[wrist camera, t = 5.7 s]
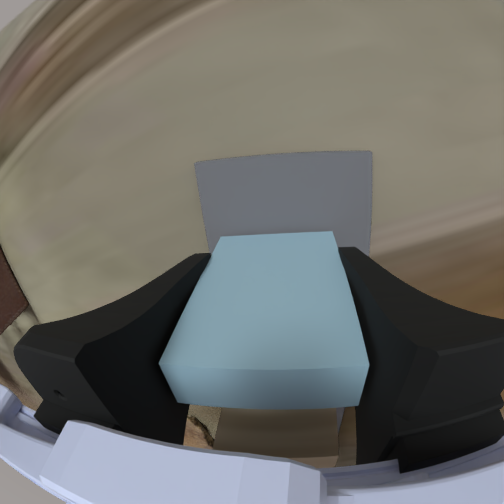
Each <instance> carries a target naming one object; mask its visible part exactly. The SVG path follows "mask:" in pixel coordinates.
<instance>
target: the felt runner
mask: <svg viewBox="0 0 504 504" xmlns="http://www.w3.org/2000/svg"><path fill="white" fill-rule="evenodd" d="M194 165H195V172H196V178H197V184H198V190H199V196H200V202H201V207H202V213H203V219H204V224H205V230H206V235H207V241H208V246H209V251H210V253H211V255H212V253H213V251H214V249H215V247H216V245H217V243H218V241H219V239H220V237H223V236H241V235H260V234H280V233H301V232H324V231H333V235H334V238H335V241H336V244H337V247H356V248H358V249H359V250H360V251H362V252H363V253H364V254H366V255H367V256H368V257H369V248H370V233H371V212H372V152H370V151H321V152H297V153H281V154H267V155H255V156H244V157H234V158H225V159H216V160H208V161H200V162H196V163H194ZM344 409H345V407H338V408H336V414H337V429H338V432H339V429H340V425H341V421H342V417H343V413H344Z"/></svg>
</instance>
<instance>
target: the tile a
mask: <svg viewBox="0 0 504 504" xmlns="http://www.w3.org/2000/svg"><path fill="white" fill-rule="evenodd" d="M212 450H220V451H230V452H242V453H251V454H258V455H265V456H273V457H283V458H288V459H291V460H294V461H297V462H301V463H304V464H307V465H311V466H313V467H315V468H332V467H335V465H336V463H337V460H338V457H339V446H338V429H337V414H336V408H322V409H289V410H275V409H242V408H226V407H222V410H221V414H220V418H219V423H218V427H217V431H216V436H215V440H214V444H213V448H212Z"/></svg>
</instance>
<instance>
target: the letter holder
mask: <svg viewBox="0 0 504 504" xmlns="http://www.w3.org/2000/svg"><path fill="white" fill-rule="evenodd" d="M28 305H29V304H28V302H27V300H26V298H25V296H24V295H23V292H22V291H21V289H20V287H19V285H18V283H17V281H16V279H15V277H14V275H13V273H12V271H11V269H10V267H9V265H8V263H7V260H6V258H5V256H4V254H3V251H2V249H1V247H0V335H1V333H3V332H4V330H6V328H7V327H8V326H9V325H11V324H12V322H13V321H14V320H15V319H16V318H17V317H18V316H19V315H20V314H21V313H22V312H23V311H24V310H25V309H26V308H27V306H28Z"/></svg>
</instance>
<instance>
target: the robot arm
mask: <svg viewBox="0 0 504 504" xmlns="http://www.w3.org/2000/svg"><path fill="white" fill-rule="evenodd" d="M338 252H339V255H340V259H341V262H342V265H343V267H344V270H345V273H346V276H347V280H348V283H349V287H350V290H351V294H352V297H353V301H354V305H355V308H356V312H357V316H358V320H359V324H360V328H361V332H362V336H363V340H364V344H365V348H366V352H367V357H368V361H369V368H368V372H367V376H366V380H365V384H364V387H363V391H362V394H361V398H360V401H359V405H358V406H355V410H356V435H357V458H356V465H353V466H344V467H332V468H315V467H313V466H311V465H307V464H304V463H301V462H297V461H294V460H291V459H288V458H283V457H273V456H265V455H258V454H251V453H242V452H230V451H220V450H211V449H203V448H196V447H190V446H184V445H183V443H184V435H185V429H186V422H187V415H188V410H189V405H190V404H185V403H178V402H177V400H176V398H175V396H174V394H173V392H172V390H171V388H170V386H169V384H168V382H167V380H166V378H165V376H164V374H163V372H162V370H161V367H160V365H159V361H160V359H161V357H162V355H163V353H164V351H165V349H166V346H167V344H168V342H169V340H170V338H171V336H172V334H173V332H174V330H175V328H176V325H177V323H178V321H179V319H180V317H181V315H182V313H183V311H184V309H185V307H186V305H187V303H188V301H189V299H190V297H191V295H192V293H193V291H194V289H195V287H196V285H197V283H198V281H199V279H200V277H201V275H202V273H203V271H204V270H205V268H206V266H207V264H208V262H209V260H210V258H211V253H199V254H194V255H192V256H190V257H188V258H186V259H185V260H183V261H182V262H180V263H179V264H177V265H176V266H174V267H173V268H171V269H170V270H168V271H167V272H165V273H164V274H162V275H161V276H159V277H157V278H156V279H154V280H152V281H151V282H149V283H148V284H146V285H144V286H143V287H141V288H139V289H138V290H136V291H134V292H132V293H130V294H129V295H127V296H125V297H123V298H121V299H119V300H116V301H114V302H112V303H109V304H107V305H105V306H102V307H100V308H97V309H95V310H92V311H89V312H87V313H84V314H81V315H77V316H74V317H70V318H67V319H63V320H59V321H54V322H50V323H45V324H40V325H34V326H33V327H31V328H30V329H29V330H28V331H27V333H26V334H25V335H24V336H23V337H22V338H21V339H20V341H19V342H18V343H17V344H16V345H15V347H14V356H15V360H16V362H17V364H18V366H19V368H20V369H21V371H22V372H23V374H24V375H25V377H26V378H27V379H28V381H29V382H30V383H31V385H32V386H33V387H34V388H35V390H36V391H37V392H38V393H39V395H40V396H41V397H42V398H43V399H44V400H43V401H42V403H41V404H40V406H39V408H38V409H37V411H34V410H32V409H30V408H28V407H26V406H24V405H22V402H21V401H20V400H19V399H18V397H17V396H16V395H15V394H14V393H13V392H12V391H11V390H10V389H8V388H7V387H5V386H3V385H2V384H0V458H1V459H3V460H4V461H5V462H6V463H8V464H9V465H10V466H11V467H13V468H14V469H16V470H17V471H18V472H20V473H21V474H22V475H24V476H25V477H27V478H28V479H29V480H31V481H32V482H34V483H35V484H37V485H39V486H40V487H42V488H43V489H44V490H46V491H48V492H50V493H51V494H53V495H54V496H56V497H58V498H60V499H61V500H63V501H65V502H66V504H504V420H503V417H502V415H501V412H500V410H499V409H501V408H502V407H503V406H504V402H503V399H502V397H501V395H500V393H501V392H502V390H503V389H504V319H499V318H494V317H490V316H485V315H481V314H477V313H473V312H470V311H467V310H464V309H461V308H458V307H455V306H452V305H450V304H447V303H445V302H442V301H440V300H438V299H435V298H433V297H431V296H429V295H427V294H425V293H423V292H421V291H419V290H417V289H415V288H413V287H412V286H410V285H408V284H406V283H405V282H403V281H402V280H400V279H399V278H397V277H395V276H394V275H392V274H391V273H390V272H388V271H387V270H385V269H384V268H383V267H381V266H380V265H379V264H377V263H376V262H375V261H373V260H372V259H371V258H369V257H368V256H367V255H366V254H364V253H363V252H362V251H360V250H359V249H358V248H356V247H338Z"/></svg>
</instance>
